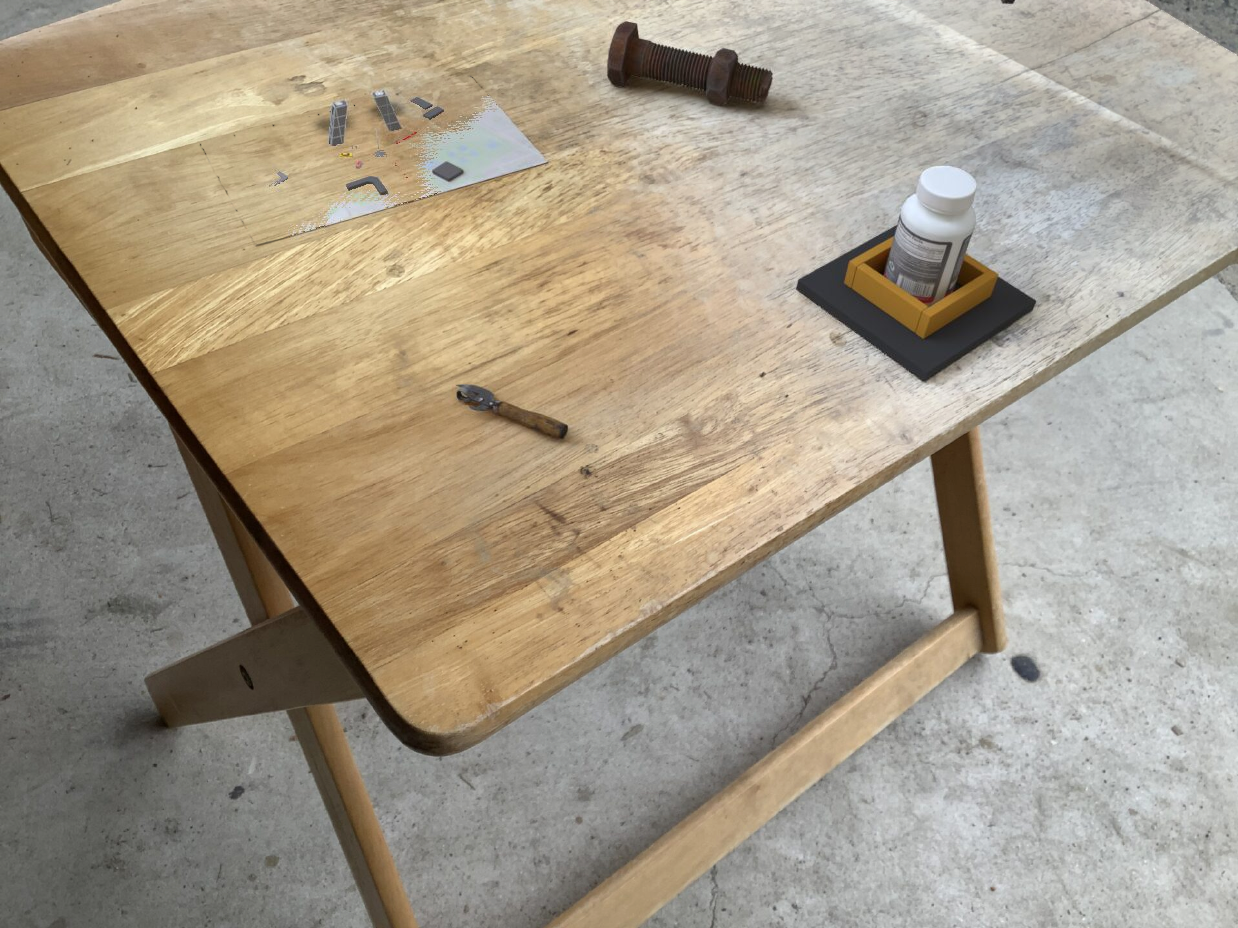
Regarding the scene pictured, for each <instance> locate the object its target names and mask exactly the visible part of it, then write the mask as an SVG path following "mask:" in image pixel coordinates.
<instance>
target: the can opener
mask: <svg viewBox="0 0 1238 928" xmlns="http://www.w3.org/2000/svg"><path fill="white" fill-rule="evenodd" d="M455 387H459V389H458V390H457V391H456V395H455V397H456V399H457V400H458V401H460V402H465V403H466V402H467V403H468V402H473V403H476V404H478V406H474V405H472V404H471V403H470V404H469V405H468V408H469V409H471V410H473V411H476V412H477V411H478V412H481V411H483V412H484V411H486V410H488V409H491V410H492V411H493V413H494V414H497V415H498V416H499V417H501V418H505V419H508V420H510V421H513V422H517V423H520V424H522V425H524V426H526V427H528V428H530V429H532V430H533V431H537V432H539V433H542V434H545V435H548V436H551V437H554V438H557V439H562V440H563V439H565V438H566V436H567V434H568V430H569V426H568V424H566V423H564V422H562V421H560V420H558V419H556V418H553V417H550V416H548V415H544V414H542V413H538V412H534V411H532V410H531V411H530V410H528V409H524V408H521V407H519V406H516V405H514V404H512V403H509V402H506V401H501V400H495V395H494V393H493V392H492V391H491V390H489V389H486V388H485V387H482V386H479V385H477V384H466V383H465V384H462V383H461V384H455ZM476 394H477V395H476Z"/></svg>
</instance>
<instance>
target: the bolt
mask: <svg viewBox="0 0 1238 928" xmlns="http://www.w3.org/2000/svg"><path fill="white" fill-rule="evenodd" d="M638 26H639V25H638V23H636V22H632V21H628V20H625V21H623V22H621V23H620V24H618V25H617V26H616V28H615V31H614V33H613V36H612V37H611V38H612V39H611V42H610V45H609V49H608V54H607V63H606V76H607V79H608V81H609V82H610V83H611V85H612V86H615V87H619V88H623V89H624V88H625V87H626V85H627V83H628V82H629V80H630V79H631V77H635V78H640V79H649V80H652V81H657V82H663V83H664V82H665V83H668V84H672V85H676V86H678V85H679V87H681V86H682V87H685V86H686V88H689V89H693V90H697V91H699V90H700V92H702V91H703V92H704V93H705V98H706V99H707V101H708V102H709V104H710V105H711V104H712V105H716V106H720V107H723V106H724V105H725V104H727V103H728V102H729V100H730V98H731V99H733V98H734V99H738V100H739V101H740V100H741V101H745V102H747V101H748V102H749V103H752V104H754V103H755V104H759V105H761V104H763V103H765V102H766V100H767V98H768V96H769V92H770V90H771V86H772V83H773V75H774V73H773V72H772V70H771V69H768V68H764V67H761V66H760V67H758V66H755V65H751V64H748V65H747V63H745V64H744V63H743V62H742V63H740V62H739V55H738V54H737V52H736V50H734V49H731V48H725V47H722V48H720V49H718V50H717V51H716V53H715V55H714V56H712V55H709V54H707V55H706V54H705V53H704V54H702V53H701V52H700V53H698V52H695V51H691V50H687V49H681V48H678V47H674V46H670V45H669V46H667V45H664V44H661V43H657V42H653V41H652V40H649V39H644V38H641V37H640V35H639V27H638Z"/></svg>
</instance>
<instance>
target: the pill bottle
mask: <svg viewBox="0 0 1238 928" xmlns="http://www.w3.org/2000/svg"><path fill="white" fill-rule="evenodd" d="M977 187H978V184H977V181H976V179H975V178H974V177H973V176H972V175H971V173H969V172H967V171H965V170H963V169H961V168H959V167H955V166H951V165H936V166H935V165H934V166H931V167H928V168H926V169H925V170H924V171H923V172H922V173H921V175H920V177H919V180H918V183H917V186H916V192H915V193H913V194H912V195H910V196H909V197H907V199H906V200H905V201H904V203H903V204H902V207H901V209H900V212H899V215H898V221H897V223H896V225H897V227H896V231H895V235H894V238H893V242H892V246H891V250H890V253H889V257H888V260H887V264H886V268H885V273H884V277H885V278H887V279H888V280H890V281H891V282H893V283H894V284H896V285H897V286H899V287H900V288H902V289H903V290H905V291H906V292H907V293H909V294H910V295H912V296H913V297H915V298H916V299H918V300H919V301H921V302H922V303H924V304H925V305H927V306H928V308H929V307H930V306H932V305H934V304H935V303H937V302H939V301H940V300H942V299H943V298H945V297H947V296H948V295H950V294H951V293H952V292H953V289H954V287H955V284H956V281H957V278H958V274H959V272H960V268H961V266H962V263H963V260H964V257H965V254H967V250H968V248H969V245H970V242H971V240H972V237H973V234H974V231H975V228H976V224H977V215H976V211H975V209H974V207H973V204H974V201H975V197H976V192H977Z"/></svg>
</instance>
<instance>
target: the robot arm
mask: <svg viewBox="0 0 1238 928" xmlns="http://www.w3.org/2000/svg"><path fill="white" fill-rule="evenodd" d="M1015 1H1016V0H1000V2H1001V4H1002V5H1003V4H1004V5H1013V4H1014V3H1015Z"/></svg>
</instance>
